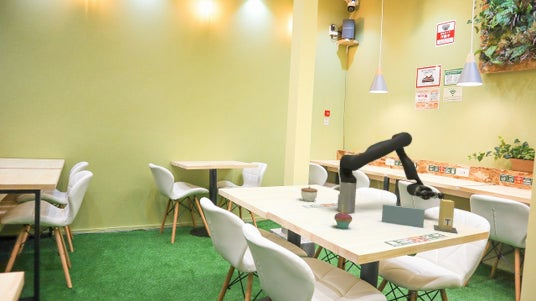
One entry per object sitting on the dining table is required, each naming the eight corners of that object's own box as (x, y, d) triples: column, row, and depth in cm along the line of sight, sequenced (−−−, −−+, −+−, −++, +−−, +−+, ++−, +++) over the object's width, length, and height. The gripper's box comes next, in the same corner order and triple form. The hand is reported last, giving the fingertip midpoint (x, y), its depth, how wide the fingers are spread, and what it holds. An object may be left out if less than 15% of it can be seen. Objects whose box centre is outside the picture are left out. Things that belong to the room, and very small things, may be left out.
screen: (381, 221, 184) (382, 204, 183) (382, 221, 186) (383, 204, 185) (423, 227, 176) (424, 210, 175) (423, 226, 178) (424, 209, 177)
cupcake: (348, 230, 162) (349, 205, 162) (330, 227, 167) (332, 202, 166) (353, 227, 169) (355, 202, 169) (337, 224, 174) (338, 200, 173)
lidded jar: (298, 201, 229) (299, 186, 229) (302, 198, 239) (303, 185, 239) (314, 203, 225) (315, 188, 225) (318, 200, 235) (319, 186, 235)
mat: (434, 230, 172) (434, 229, 172) (433, 225, 181) (433, 224, 181) (457, 233, 168) (457, 232, 168) (455, 228, 177) (455, 227, 177)
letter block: (438, 226, 178) (440, 199, 177) (448, 227, 177) (450, 200, 176) (441, 229, 172) (444, 201, 172) (452, 230, 172) (454, 202, 171)
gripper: (411, 184, 204) (419, 188, 188) (437, 186, 202) (447, 190, 186) (410, 197, 204) (418, 202, 188) (436, 199, 202) (446, 205, 186)
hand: (433, 196), depth 187 cm, fingers open, 8 cm apart
